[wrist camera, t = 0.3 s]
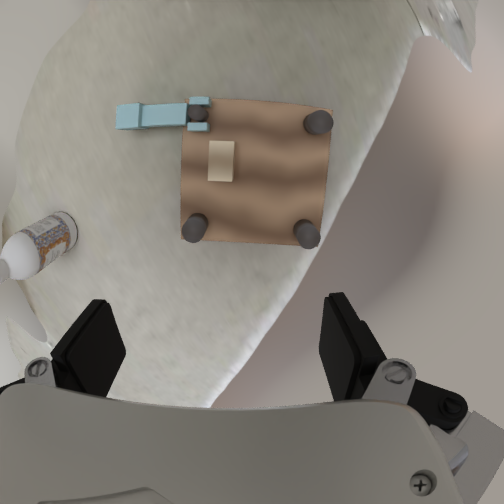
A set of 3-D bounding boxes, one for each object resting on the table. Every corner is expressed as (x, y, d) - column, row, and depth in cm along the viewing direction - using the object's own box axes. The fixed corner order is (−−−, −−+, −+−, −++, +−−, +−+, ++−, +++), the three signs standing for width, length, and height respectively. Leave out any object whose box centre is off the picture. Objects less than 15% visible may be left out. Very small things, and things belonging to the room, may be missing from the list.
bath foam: (70, 255, 42) (2, 313, 23) (46, 233, 40) (-27, 280, 21) (84, 227, 40) (7, 279, 21) (58, 203, 38) (-23, 242, 20)
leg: (211, 100, 32) (207, 94, 28) (209, 131, 33) (205, 129, 30) (129, 104, 31) (117, 101, 28) (127, 134, 33) (115, 133, 29)
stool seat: (187, 101, 34) (176, 92, 27) (328, 111, 35) (344, 105, 28) (183, 234, 41) (172, 251, 34) (314, 242, 42) (326, 260, 35)
